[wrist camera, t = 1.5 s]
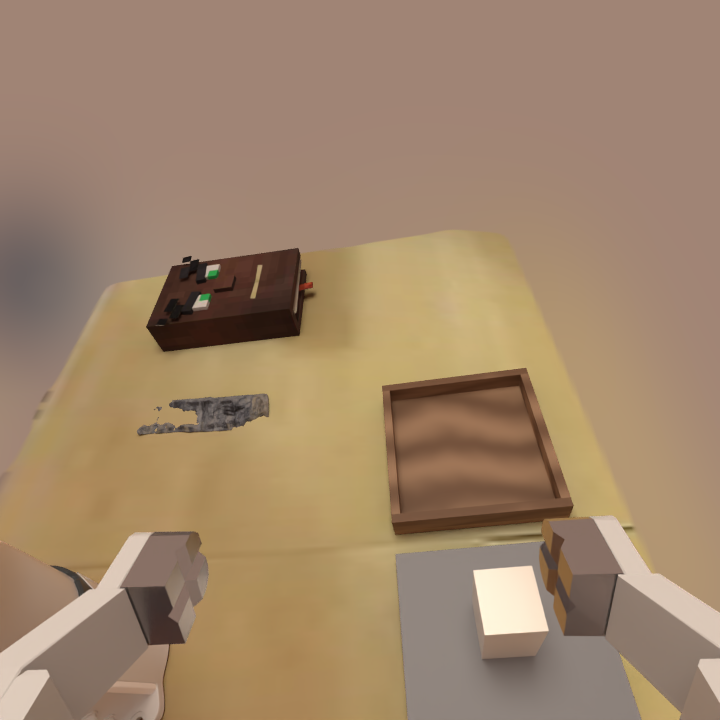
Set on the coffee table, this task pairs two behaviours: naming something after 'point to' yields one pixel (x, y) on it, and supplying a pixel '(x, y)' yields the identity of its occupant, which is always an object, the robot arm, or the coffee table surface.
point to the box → (470, 454)
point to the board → (498, 675)
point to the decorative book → (230, 301)
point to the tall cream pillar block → (508, 612)
